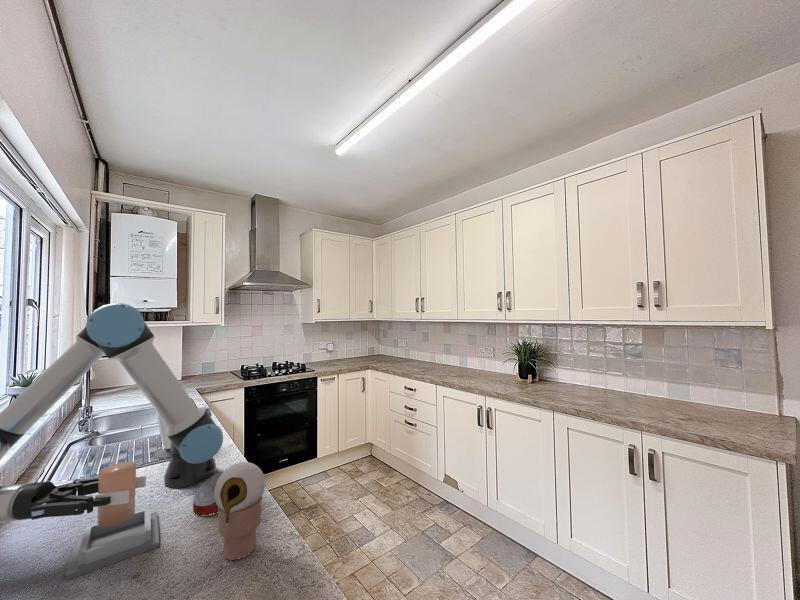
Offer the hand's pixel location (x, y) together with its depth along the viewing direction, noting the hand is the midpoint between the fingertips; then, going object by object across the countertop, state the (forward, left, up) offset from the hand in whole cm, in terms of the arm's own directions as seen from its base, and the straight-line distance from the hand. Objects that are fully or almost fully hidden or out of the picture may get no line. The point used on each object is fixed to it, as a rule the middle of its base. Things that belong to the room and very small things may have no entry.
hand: (136, 488), depth 82 cm
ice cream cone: (-19, +20, -13) cm, 31 cm away
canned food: (-17, -5, -13) cm, 22 cm away
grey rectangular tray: (+4, -2, -13) cm, 13 cm away
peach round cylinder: (+4, -2, -6) cm, 8 cm away
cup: (-10, -60, -13) cm, 62 cm away
